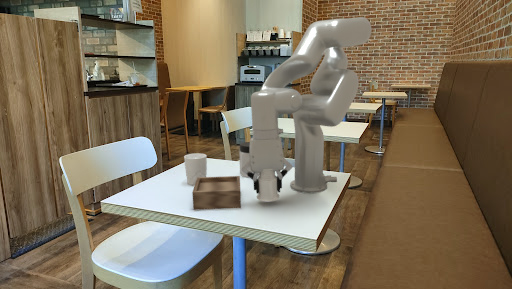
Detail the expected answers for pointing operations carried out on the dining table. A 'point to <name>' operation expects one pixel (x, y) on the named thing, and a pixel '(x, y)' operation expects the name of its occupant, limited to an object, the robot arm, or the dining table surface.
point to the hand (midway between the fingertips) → (267, 190)
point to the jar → (244, 157)
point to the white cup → (195, 167)
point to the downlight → (267, 186)
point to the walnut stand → (217, 193)
